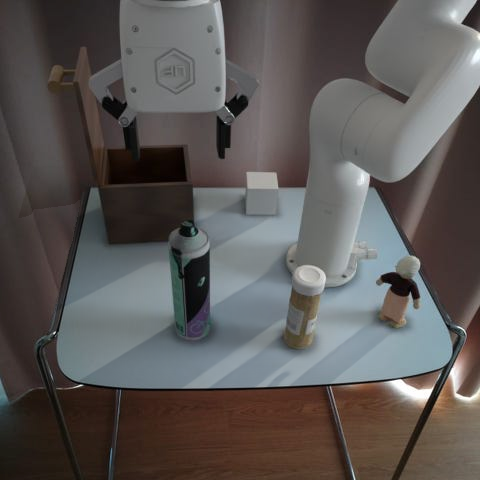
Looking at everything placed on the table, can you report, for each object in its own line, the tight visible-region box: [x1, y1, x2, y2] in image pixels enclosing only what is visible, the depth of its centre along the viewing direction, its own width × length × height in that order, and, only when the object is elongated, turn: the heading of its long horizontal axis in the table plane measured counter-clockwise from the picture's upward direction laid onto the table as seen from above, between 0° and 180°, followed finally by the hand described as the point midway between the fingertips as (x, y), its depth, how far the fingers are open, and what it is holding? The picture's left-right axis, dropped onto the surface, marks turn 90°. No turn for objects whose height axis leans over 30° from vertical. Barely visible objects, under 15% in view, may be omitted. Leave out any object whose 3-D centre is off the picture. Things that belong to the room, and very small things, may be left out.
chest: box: [97, 143, 195, 245], centre depth 92 cm, size 16×14×12 cm
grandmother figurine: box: [375, 255, 421, 329], centre depth 76 cm, size 8×4×13 cm, turn 58°
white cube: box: [244, 171, 280, 216], centre depth 99 cm, size 6×6×6 cm
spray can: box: [167, 220, 211, 342], centre depth 70 cm, size 6×6×20 cm
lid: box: [46, 46, 105, 186], centre depth 80 cm, size 17×14×5 cm
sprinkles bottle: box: [283, 265, 326, 350], centre depth 72 cm, size 5×5×14 cm
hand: (178, 154), depth 57 cm, fingers open, 9 cm apart
